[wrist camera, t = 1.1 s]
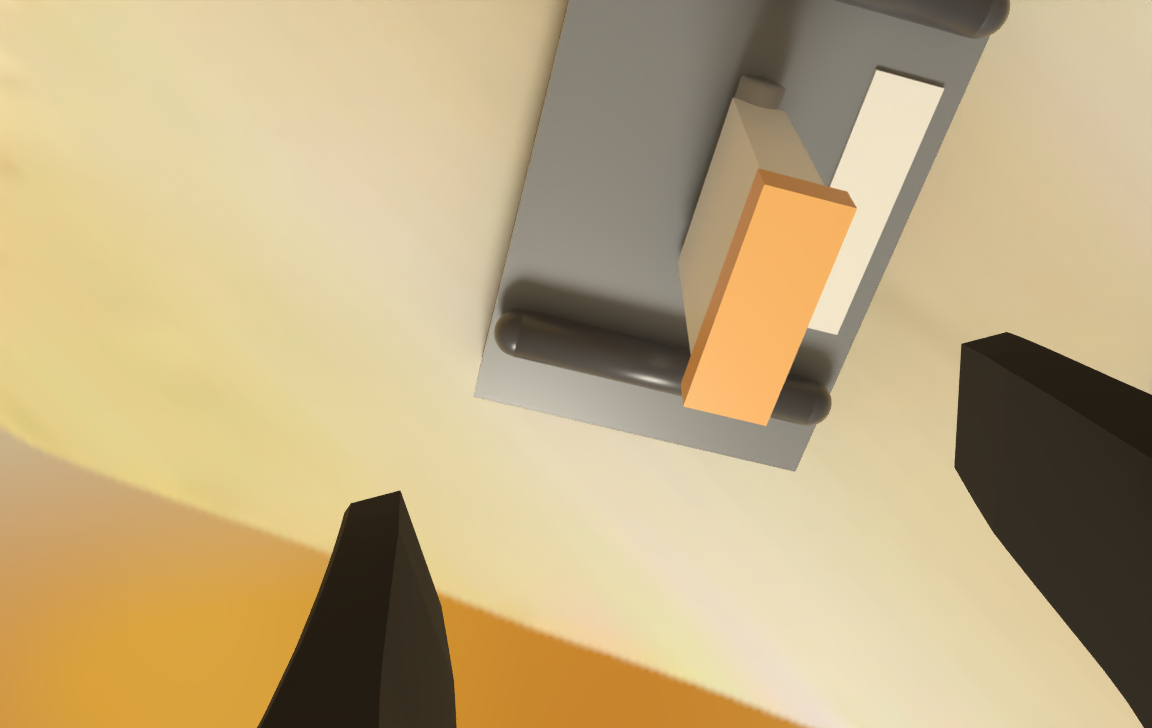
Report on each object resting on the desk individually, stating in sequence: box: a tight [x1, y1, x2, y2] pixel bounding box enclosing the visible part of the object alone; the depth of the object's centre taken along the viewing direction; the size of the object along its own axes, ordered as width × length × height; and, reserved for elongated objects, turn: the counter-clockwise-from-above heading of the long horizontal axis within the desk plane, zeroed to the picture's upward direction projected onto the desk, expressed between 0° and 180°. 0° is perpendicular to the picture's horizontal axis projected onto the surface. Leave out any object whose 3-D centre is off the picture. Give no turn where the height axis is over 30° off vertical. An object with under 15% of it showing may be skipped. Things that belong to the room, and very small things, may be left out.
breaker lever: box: [676, 75, 857, 426], centre depth 21 cm, size 2×5×7 cm, turn 165°
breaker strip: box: [473, 0, 1010, 471], centre depth 24 cm, size 9×15×3 cm, turn 166°
